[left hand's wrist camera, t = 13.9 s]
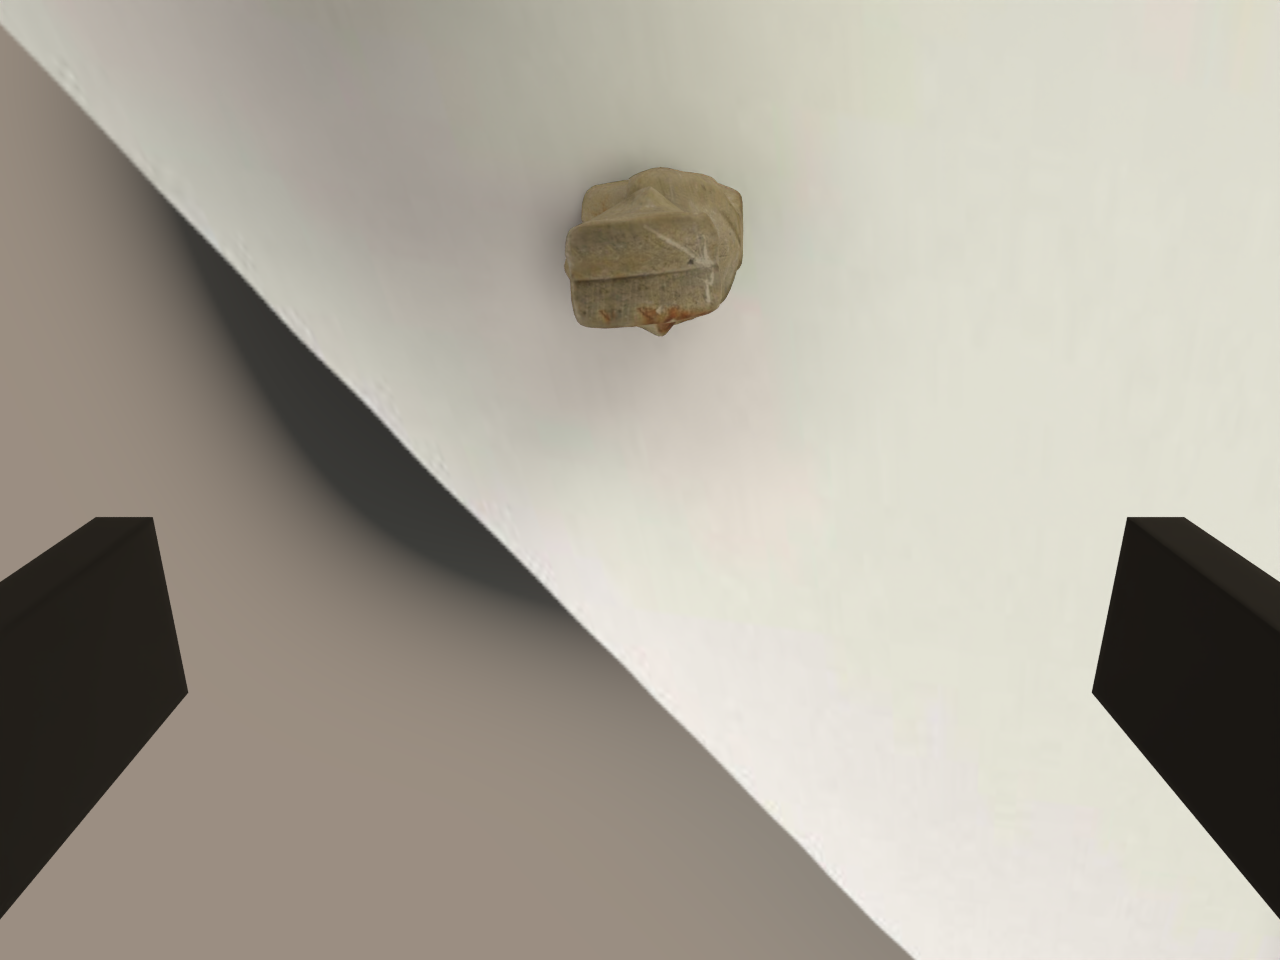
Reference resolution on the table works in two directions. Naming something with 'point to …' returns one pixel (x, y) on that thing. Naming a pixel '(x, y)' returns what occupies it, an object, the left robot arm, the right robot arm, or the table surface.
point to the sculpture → (654, 250)
